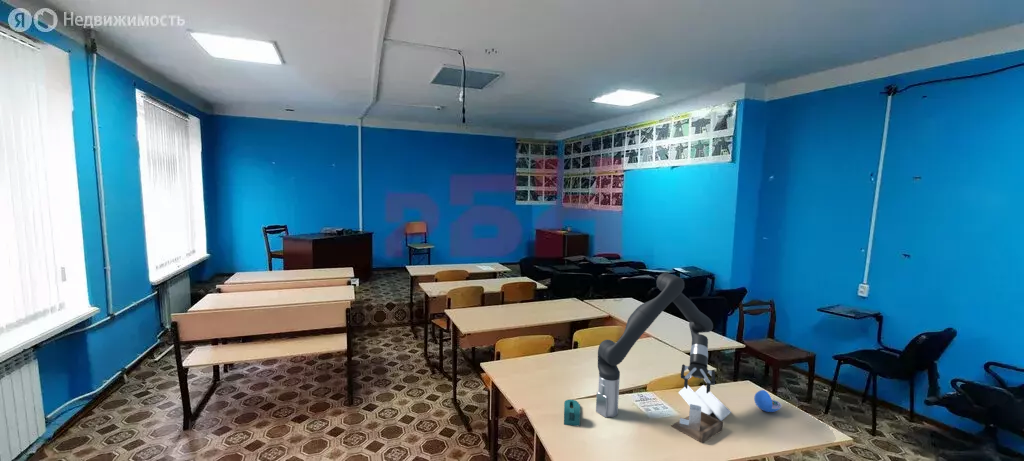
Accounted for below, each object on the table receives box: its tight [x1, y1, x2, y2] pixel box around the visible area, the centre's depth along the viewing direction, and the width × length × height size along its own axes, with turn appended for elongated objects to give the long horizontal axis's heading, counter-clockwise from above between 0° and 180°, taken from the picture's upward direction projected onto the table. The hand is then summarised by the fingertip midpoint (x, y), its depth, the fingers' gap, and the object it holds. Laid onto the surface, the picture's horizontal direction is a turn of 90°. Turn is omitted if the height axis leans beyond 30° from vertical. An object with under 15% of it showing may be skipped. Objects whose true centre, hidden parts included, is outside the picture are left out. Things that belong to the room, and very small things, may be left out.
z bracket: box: [677, 384, 732, 422], centre depth 192 cm, size 12×25×6 cm
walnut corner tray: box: [670, 411, 724, 444], centre depth 174 cm, size 16×14×4 cm
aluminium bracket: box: [679, 404, 701, 431], centre depth 174 cm, size 8×4×9 cm, turn 65°
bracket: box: [563, 399, 581, 427], centre depth 182 cm, size 18×7×8 cm, turn 172°
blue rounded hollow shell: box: [753, 389, 783, 413], centre depth 190 cm, size 10×12×10 cm
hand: (696, 390), depth 179 cm, fingers open, 8 cm apart
